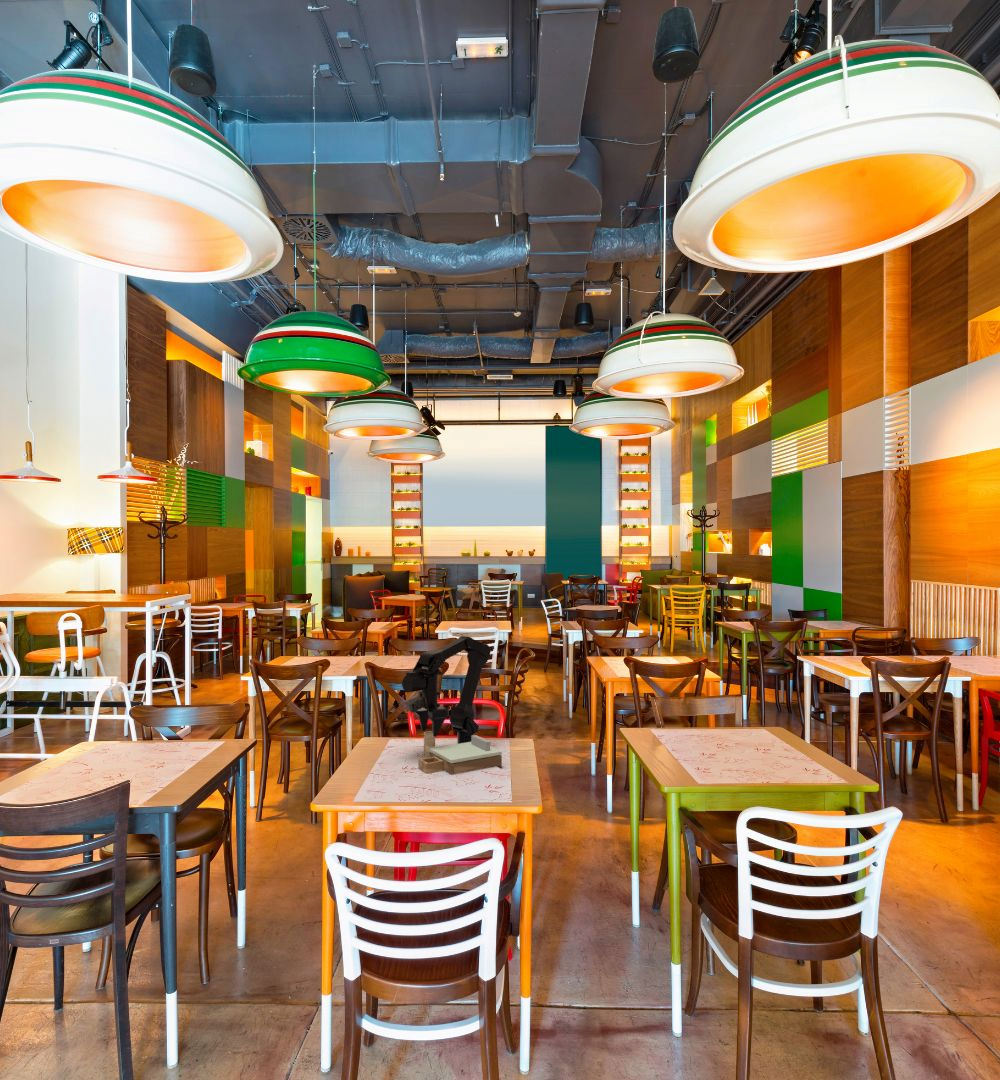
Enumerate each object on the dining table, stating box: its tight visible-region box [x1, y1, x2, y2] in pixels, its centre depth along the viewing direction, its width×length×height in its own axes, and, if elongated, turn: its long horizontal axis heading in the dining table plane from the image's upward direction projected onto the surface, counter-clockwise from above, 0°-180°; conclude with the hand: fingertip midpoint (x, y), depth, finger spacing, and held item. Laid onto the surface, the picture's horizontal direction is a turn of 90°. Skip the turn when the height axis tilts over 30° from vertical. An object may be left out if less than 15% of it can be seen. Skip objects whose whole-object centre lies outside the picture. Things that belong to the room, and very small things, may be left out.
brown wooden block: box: [423, 730, 436, 758], centre depth 231 cm, size 3×3×9 cm
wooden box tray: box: [417, 752, 503, 776], centre depth 220 cm, size 16×25×4 cm, turn 122°
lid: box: [429, 734, 503, 763], centre depth 221 cm, size 16×19×4 cm
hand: (429, 733), depth 231 cm, fingers open, 9 cm apart
